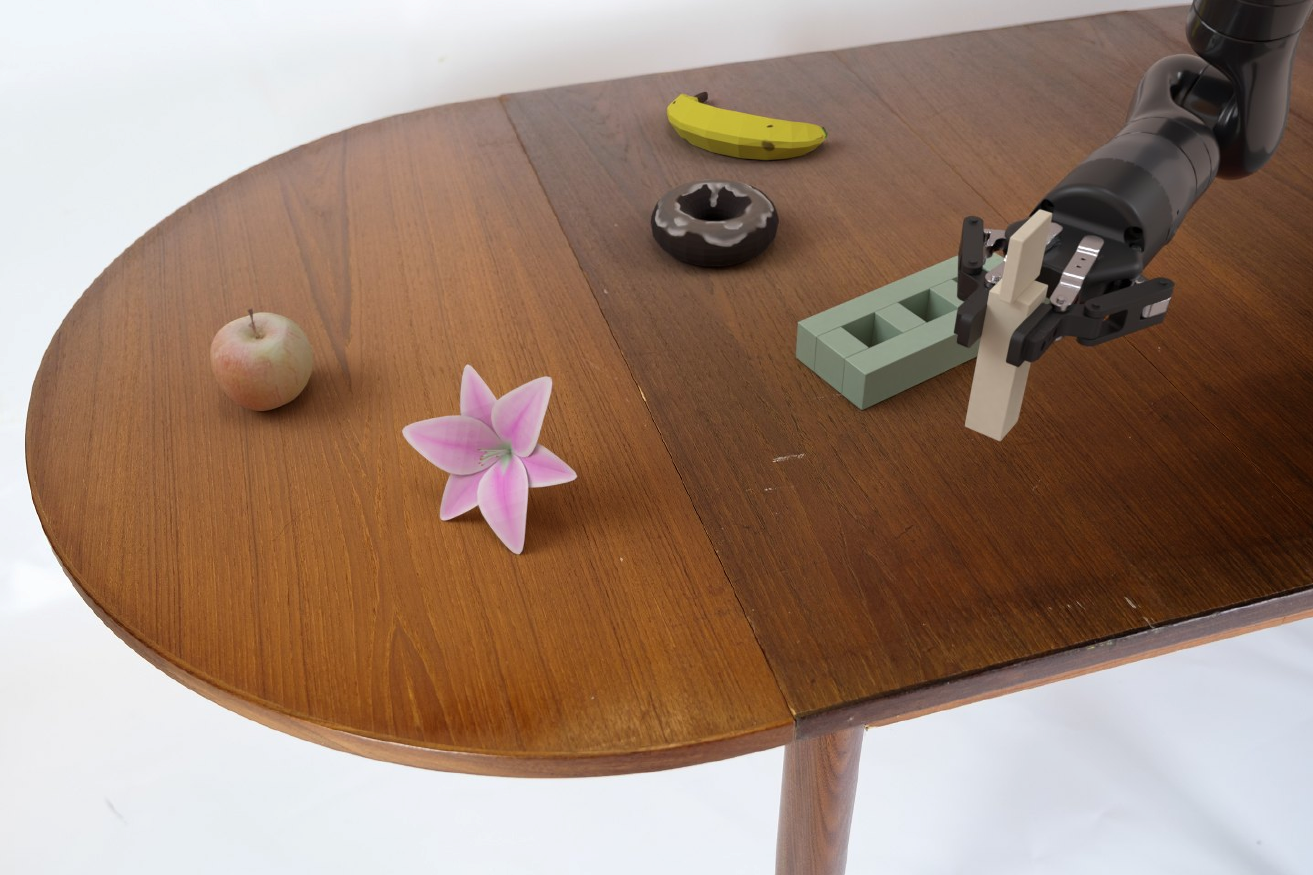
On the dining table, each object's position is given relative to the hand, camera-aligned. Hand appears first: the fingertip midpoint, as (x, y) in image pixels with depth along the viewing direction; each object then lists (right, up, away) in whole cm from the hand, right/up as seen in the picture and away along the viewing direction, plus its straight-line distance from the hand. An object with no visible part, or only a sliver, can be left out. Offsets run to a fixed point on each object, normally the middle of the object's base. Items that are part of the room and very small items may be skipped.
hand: (989, 342), depth 62 cm
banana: (-9, +27, +59) cm, 66 cm away
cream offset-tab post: (+2, -4, +7) cm, 9 cm away
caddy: (+3, +3, +30) cm, 30 cm away
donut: (-13, +13, +43) cm, 46 cm away
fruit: (-49, -2, +27) cm, 56 cm away
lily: (-29, -10, +17) cm, 35 cm away
